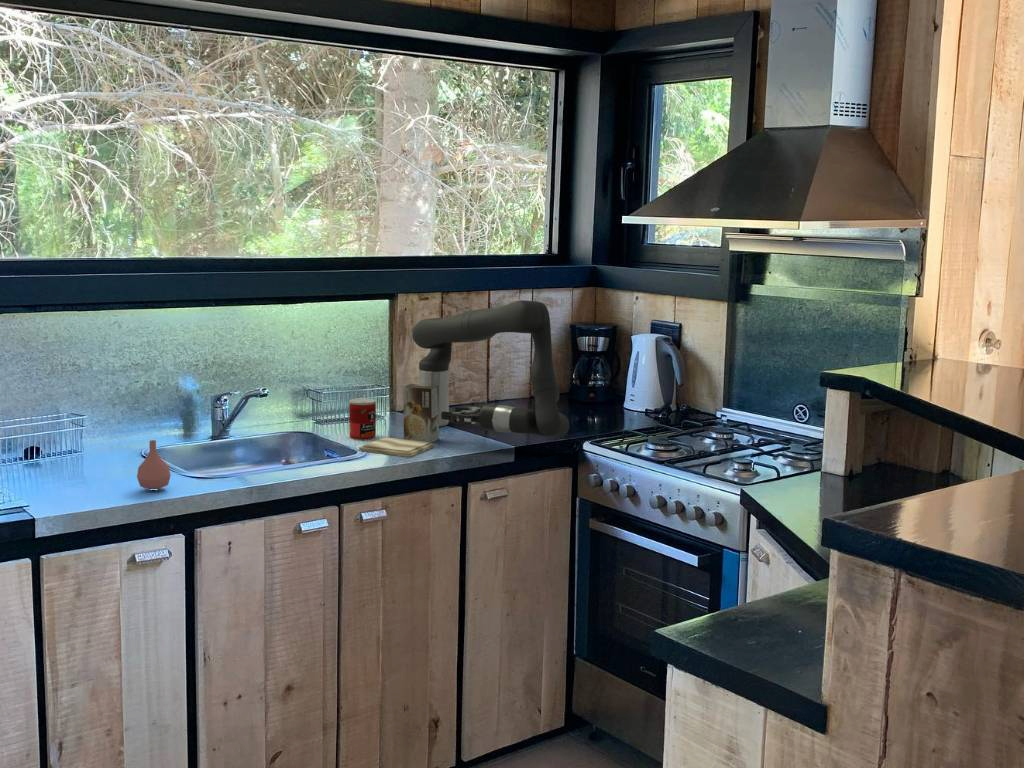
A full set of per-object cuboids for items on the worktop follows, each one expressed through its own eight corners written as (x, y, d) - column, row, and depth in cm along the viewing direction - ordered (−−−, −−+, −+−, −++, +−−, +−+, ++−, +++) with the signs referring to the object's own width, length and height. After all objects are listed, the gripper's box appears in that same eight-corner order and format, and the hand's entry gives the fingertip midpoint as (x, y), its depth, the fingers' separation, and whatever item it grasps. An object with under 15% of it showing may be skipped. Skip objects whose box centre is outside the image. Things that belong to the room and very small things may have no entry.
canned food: (363, 441, 325) (362, 403, 323) (343, 437, 329) (343, 400, 328) (381, 436, 331) (381, 400, 329) (362, 433, 335) (362, 397, 334)
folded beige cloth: (385, 441, 325) (385, 436, 324) (433, 447, 318) (433, 442, 318) (359, 450, 312) (359, 445, 312) (409, 457, 305) (409, 451, 305)
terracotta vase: (159, 484, 273) (158, 436, 271) (177, 489, 268) (176, 440, 266) (131, 490, 267) (129, 441, 265) (148, 495, 262) (146, 445, 260)
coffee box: (439, 439, 329) (440, 385, 327) (431, 443, 323) (432, 388, 321) (410, 436, 332) (410, 383, 329) (402, 440, 326) (402, 386, 323)
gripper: (510, 401, 322) (460, 396, 328) (488, 409, 309) (437, 403, 315) (509, 426, 323) (459, 421, 329) (488, 435, 310) (436, 429, 317)
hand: (448, 412), depth 322 cm, fingers open, 8 cm apart
